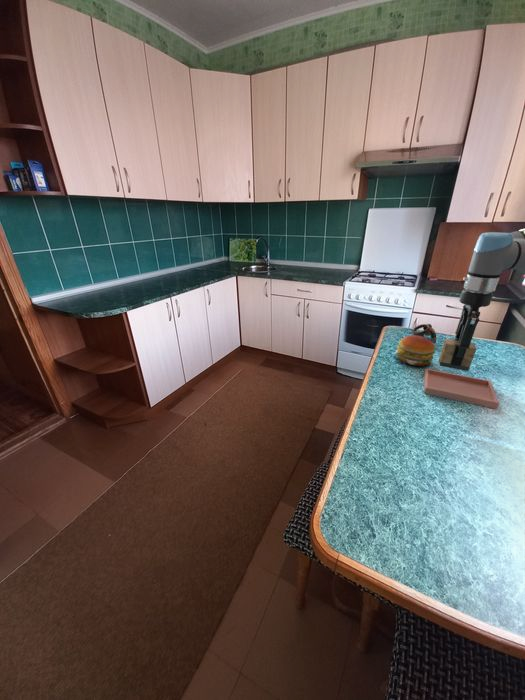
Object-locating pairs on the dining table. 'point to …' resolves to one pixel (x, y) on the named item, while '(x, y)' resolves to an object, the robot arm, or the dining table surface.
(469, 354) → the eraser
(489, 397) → the tray
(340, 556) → the dining table surface
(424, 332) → the pottery mug
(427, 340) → the burger
